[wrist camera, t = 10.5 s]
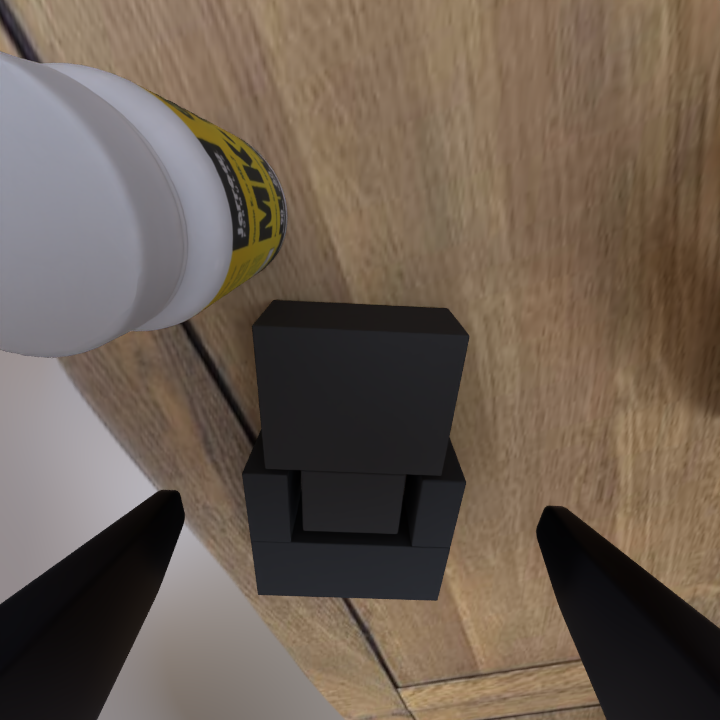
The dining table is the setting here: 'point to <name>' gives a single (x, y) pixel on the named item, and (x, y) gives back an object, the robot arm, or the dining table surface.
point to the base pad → (350, 538)
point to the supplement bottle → (119, 209)
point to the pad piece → (356, 404)
